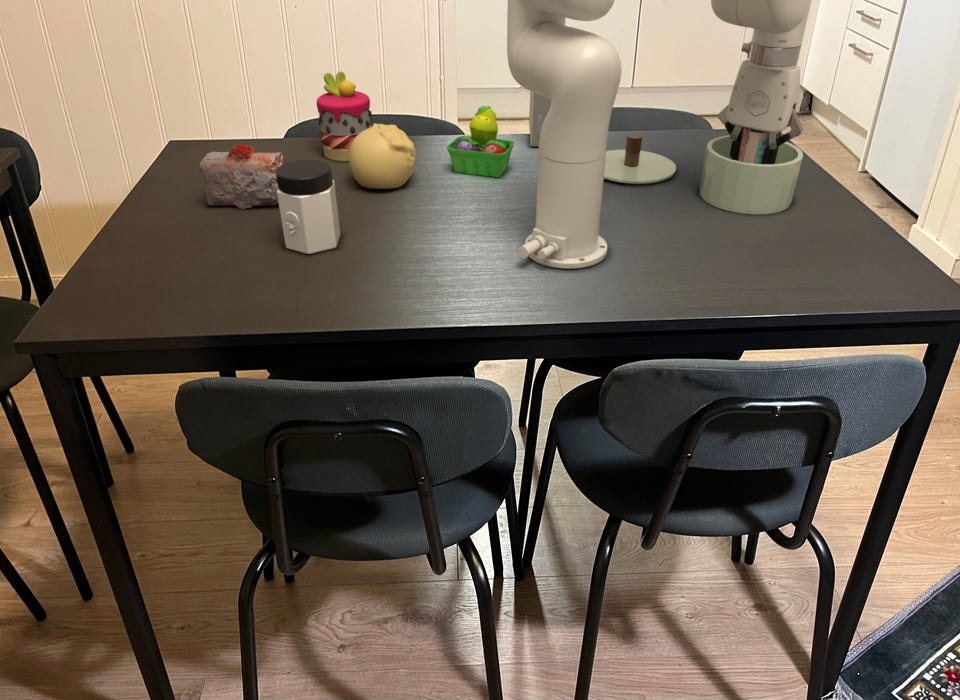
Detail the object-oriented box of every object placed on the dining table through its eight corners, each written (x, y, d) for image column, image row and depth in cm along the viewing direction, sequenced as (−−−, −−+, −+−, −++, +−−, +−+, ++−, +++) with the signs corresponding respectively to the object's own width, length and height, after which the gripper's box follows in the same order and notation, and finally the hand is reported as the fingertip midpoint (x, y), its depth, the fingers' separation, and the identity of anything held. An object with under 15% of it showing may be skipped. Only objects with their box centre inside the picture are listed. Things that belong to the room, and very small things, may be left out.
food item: (293, 192, 135) (285, 138, 130) (284, 210, 129) (275, 154, 123) (216, 193, 135) (205, 139, 129) (203, 211, 128) (191, 155, 123)
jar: (274, 246, 117) (261, 172, 111) (308, 226, 123) (298, 155, 117) (319, 259, 114) (308, 183, 107) (352, 238, 120) (344, 165, 113)
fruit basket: (445, 173, 143) (444, 114, 136) (461, 158, 149) (460, 100, 143) (503, 181, 139) (504, 120, 133) (516, 164, 146) (518, 106, 140)
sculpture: (425, 190, 136) (422, 131, 130) (360, 200, 132) (354, 139, 126) (406, 168, 145) (403, 112, 139) (345, 177, 141) (339, 119, 135)
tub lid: (647, 194, 134) (651, 158, 131) (569, 172, 143) (571, 137, 140) (691, 168, 145) (696, 134, 141) (616, 149, 154) (619, 116, 150)
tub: (769, 222, 124) (781, 173, 120) (683, 198, 133) (691, 151, 128) (804, 194, 134) (816, 147, 130) (722, 173, 143) (731, 128, 138)
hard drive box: (568, 148, 154) (574, 45, 143) (530, 148, 154) (534, 45, 143) (562, 124, 167) (568, 28, 156) (528, 124, 167) (531, 28, 156)
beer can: (740, 172, 135) (754, 104, 128) (766, 179, 132) (781, 110, 125) (728, 180, 132) (742, 111, 125) (755, 187, 129) (770, 117, 122)
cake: (385, 149, 154) (379, 73, 145) (351, 165, 146) (343, 86, 138) (345, 140, 158) (338, 66, 150) (311, 155, 151) (300, 78, 143)
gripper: (713, 51, 122) (695, 160, 133) (818, 68, 113) (790, 184, 123) (733, 43, 127) (714, 149, 137) (836, 59, 118) (807, 171, 128)
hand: (750, 164), depth 130 cm, fingers closed on beer can, 4 cm apart
